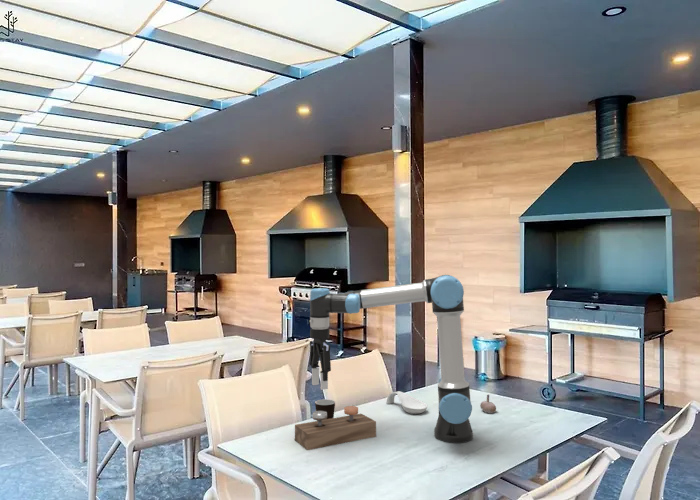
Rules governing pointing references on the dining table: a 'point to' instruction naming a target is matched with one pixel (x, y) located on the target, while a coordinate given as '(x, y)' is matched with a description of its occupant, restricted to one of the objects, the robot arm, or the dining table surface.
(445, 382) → the robot arm
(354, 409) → the terracotta plunger
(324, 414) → the grey plunger
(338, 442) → the button block
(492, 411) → the garlic bulb
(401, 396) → the spoon rest
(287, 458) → the dining table surface
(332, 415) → the coffee mug
